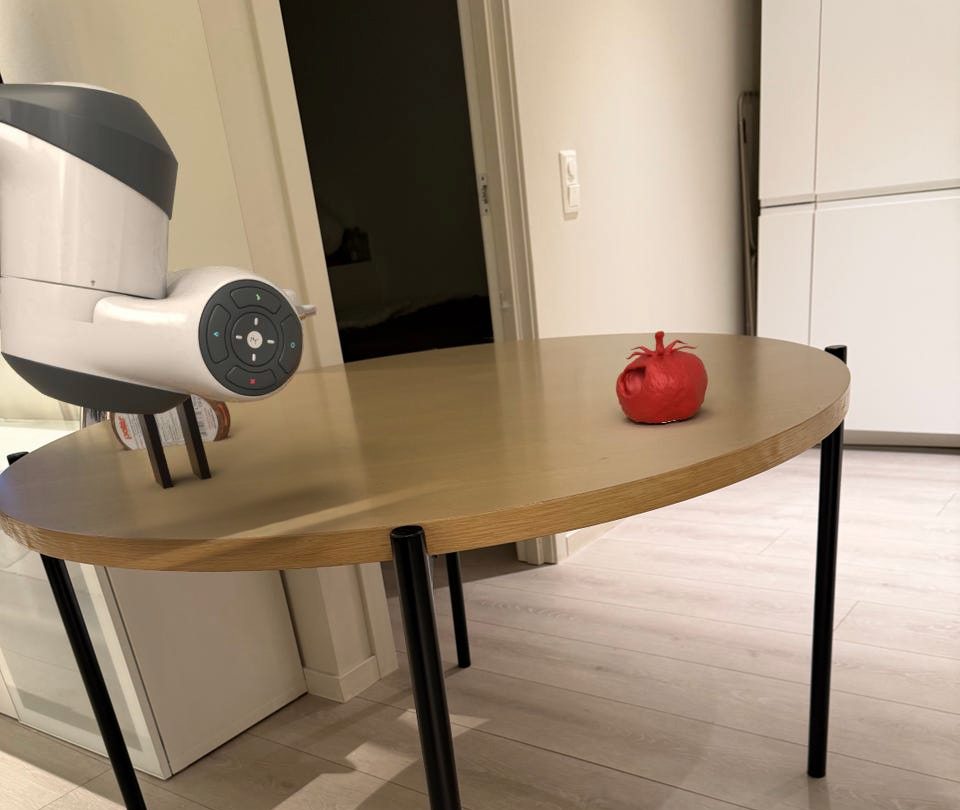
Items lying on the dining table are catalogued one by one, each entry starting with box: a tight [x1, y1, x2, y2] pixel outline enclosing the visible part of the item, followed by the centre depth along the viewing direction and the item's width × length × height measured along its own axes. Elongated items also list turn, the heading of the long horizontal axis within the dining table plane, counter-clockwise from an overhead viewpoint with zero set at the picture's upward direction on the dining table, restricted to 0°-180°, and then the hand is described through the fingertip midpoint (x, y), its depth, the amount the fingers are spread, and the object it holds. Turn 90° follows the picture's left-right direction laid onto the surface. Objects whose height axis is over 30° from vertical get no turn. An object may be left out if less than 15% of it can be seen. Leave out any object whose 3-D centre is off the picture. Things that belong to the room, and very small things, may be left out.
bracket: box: [137, 394, 213, 490], centre depth 91 cm, size 10×8×16 cm
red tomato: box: [615, 330, 709, 424], centre depth 97 cm, size 10×10×9 cm
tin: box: [109, 393, 232, 451], centre depth 112 cm, size 15×3×8 cm, turn 84°
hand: (161, 325), depth 79 cm, fingers closed
